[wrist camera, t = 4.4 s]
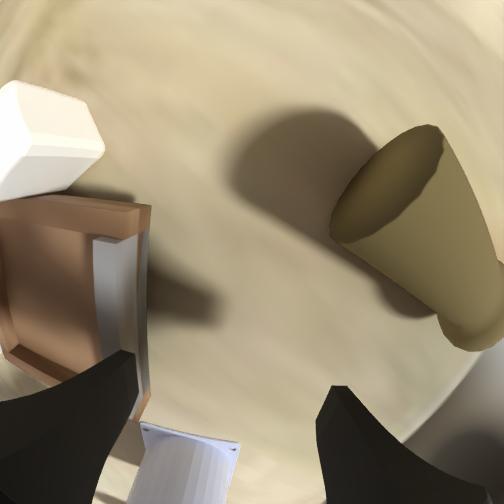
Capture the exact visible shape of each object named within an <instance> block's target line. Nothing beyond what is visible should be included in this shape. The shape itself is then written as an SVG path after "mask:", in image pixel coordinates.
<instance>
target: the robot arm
mask: <svg viewBox="0 0 504 504" xmlns="http://www.w3.org/2000/svg"><path fill="white" fill-rule="evenodd" d="M138 394H139V385H138V376H137V366H136V355H135V353H132V352H128V351H125V350H122V349H121V350H119V351H117V352H115V353H114V354H112V355H110V356H109V357H107V358H105V359H104V360H102V361H101V362H99V363H97V364H96V365H94V366H92V367H90V368H89V369H87V370H85V371H83V372H82V373H80V374H78V375H76V376H74V377H72V378H70V379H68V380H66V381H64V382H62V383H60V384H58V385H56V386H53V387H51V388H48V389H46V390H43V391H40V392H38V393H35V394H32V395H28V396H24V397H20V398H16V399H12V400H7V401H1V402H0V504H92V500H93V496H94V493H95V490H96V486H97V483H98V480H99V477H100V474H101V472H102V469H103V466H104V464H105V461H106V459H107V457H108V455H109V453H110V451H111V449H112V447H113V445H114V444H115V442H116V440H117V438H118V436H119V434H120V433H121V431H122V429H123V427H124V425H125V424H126V422H127V420H128V418H129V416H130V414H131V412H132V410H133V407H134V405H135V402H136V400H137V397H138ZM140 428H141V433H142V437H143V442H144V446H145V451H146V452H145V454H144V457H143V459H142V462H141V464H140V467H139V470H138V472H137V475H136V477H135V480H134V483H133V485H132V488H131V491H130V493H129V496H128V499H127V501H126V504H226V498H227V490H228V487H229V486H230V482H231V479H232V475H233V472H234V468H235V465H236V461H237V457H238V454H239V450H240V444H239V443H238V442H233V441H226V440H220V439H214V438H209V437H203V436H198V435H194V434H189V433H185V432H180V431H176V430H172V429H168V428H164V427H161V426H157V425H154V424H150V423H147V422H141V423H140ZM144 428H146V429H148V430H149V431H146V430H145V429H144ZM316 441H317V448H318V453H319V458H320V463H321V469H322V474H323V479H324V484H325V490H326V501H327V504H492V501H491V499H490V496H489V494H488V492H487V490H486V488H485V487H484V486H480V485H477V484H473V483H470V482H467V481H464V480H461V479H458V478H456V477H454V476H451V475H449V474H447V473H445V472H443V471H441V470H439V469H437V468H436V467H434V466H432V465H431V464H429V463H427V462H426V461H424V460H423V459H421V458H420V457H418V456H417V455H415V454H414V453H413V452H411V451H410V450H409V449H408V448H406V447H405V446H404V445H403V444H401V443H400V442H399V441H398V440H397V439H396V438H395V437H394V436H393V435H392V434H390V433H389V432H388V431H387V430H386V429H385V428H384V427H383V426H382V425H381V424H380V423H379V421H378V420H377V419H376V418H375V417H374V416H373V415H372V414H371V413H370V412H369V411H368V409H367V408H366V407H365V406H364V405H363V404H362V403H361V401H360V400H359V399H358V398H357V397H356V396H355V395H354V393H353V392H352V391H351V390H350V389H349V388H348V387H347V386H333V385H332V386H331V388H330V391H329V393H328V395H327V397H326V399H325V402H324V404H323V406H322V408H321V410H320V412H319V414H318V416H317V418H316ZM230 448H236V449H235V450H232V449H230Z"/></svg>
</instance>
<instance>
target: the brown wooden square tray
mask: <svg viewBox="0 0 504 504" xmlns="http://www.w3.org/2000/svg"><path fill="white" fill-rule="evenodd" d="M150 216H151V205H146V204H138V203H130V202H122V201H113V200H105V199H96V198H87V197H77V196H67V195H57V194H40V195H34V196H28V197H22V198H17V199H11V200H6V201H1V202H0V345H1V348H2V351H3V354H4V357H5V359H6V360H8V361H9V362H11V363H12V364H14V365H15V366H17V367H19V368H20V369H22V370H23V371H25V372H27V373H28V374H30V375H32V376H33V377H35V378H37V379H39V380H40V381H42V382H44V383H46V384H48V385H50V386H51V387H53V386H56V385H58V384H60V383H62V382H64V381H66V380H68V379H70V378H72V377H74V376H76V375H78V374H80V373H82V372H83V371H85V370H87V369H89V368H90V367H92V366H94V365H96V364H97V363H99V362H101V361H102V360H104V359H105V358H107V357H109V356H110V355H112V354H114V353H115V352H117V351H119V350H121V349H122V350H125V351H128V352H132V353H135V355H136V366H137V376H138V385H139V394H138V397H137V400H136V402H135V405H134V407H133V410H132V412H131V414H130V416H129V418H128V420H131V421H134V422H137V423H138V421H139V419H140V417H141V415H142V413H143V411H144V409H145V407H146V405H147V403H148V400H149V398H150V396H151V390H150V378H149V364H148V345H147V263H148V243H149V228H150Z"/></svg>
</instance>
